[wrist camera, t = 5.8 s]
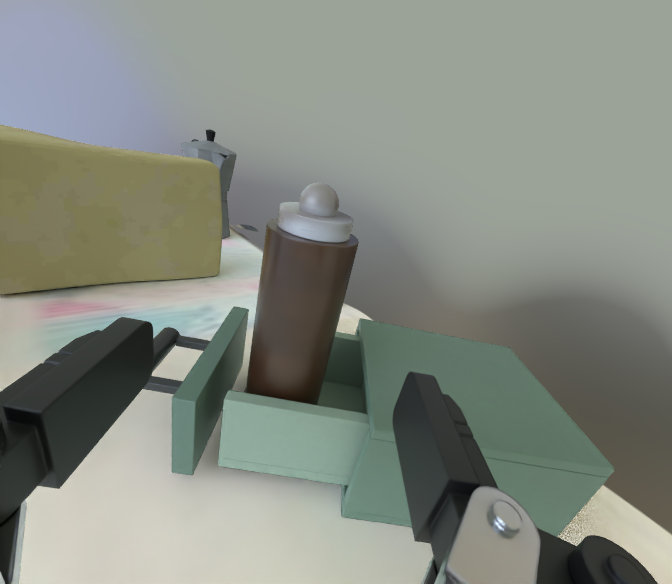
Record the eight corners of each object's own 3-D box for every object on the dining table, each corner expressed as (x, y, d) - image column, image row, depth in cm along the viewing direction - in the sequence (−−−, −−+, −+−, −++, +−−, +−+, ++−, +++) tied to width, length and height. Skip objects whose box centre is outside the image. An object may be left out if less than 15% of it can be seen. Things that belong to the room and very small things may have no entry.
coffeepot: (244, 242, 60) (254, 140, 52) (193, 243, 53) (196, 127, 46) (212, 219, 69) (217, 130, 62) (165, 217, 63) (165, 118, 56)
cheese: (211, 261, 48) (217, 158, 42) (226, 289, 41) (236, 170, 35) (9, 260, 36) (-23, 115, 30) (-18, 299, 29) (-68, 120, 23)
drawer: (90, 460, 18) (77, 382, 15) (176, 353, 27) (176, 295, 25) (379, 503, 19) (408, 437, 17) (366, 387, 28) (383, 334, 26)
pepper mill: (227, 414, 21) (252, 167, 15) (281, 384, 25) (320, 176, 18) (272, 464, 19) (326, 193, 12) (325, 423, 22) (388, 197, 16)
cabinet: (341, 517, 19) (373, 428, 16) (340, 385, 29) (359, 317, 26) (548, 547, 20) (616, 469, 17) (475, 410, 30) (509, 347, 27)
